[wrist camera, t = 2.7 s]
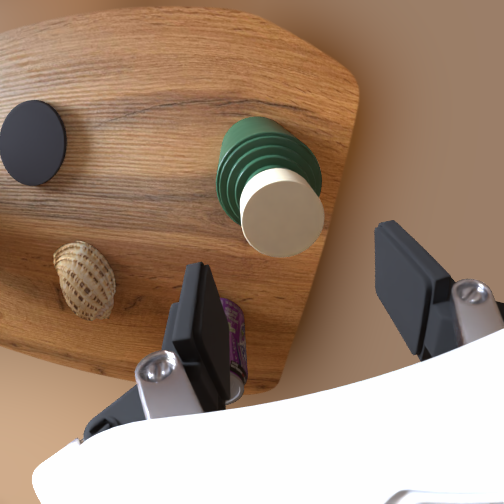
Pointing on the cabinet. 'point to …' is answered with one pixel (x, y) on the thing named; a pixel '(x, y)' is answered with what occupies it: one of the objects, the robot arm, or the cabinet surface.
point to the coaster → (33, 142)
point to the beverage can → (236, 349)
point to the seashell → (85, 280)
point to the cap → (280, 213)
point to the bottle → (260, 159)
